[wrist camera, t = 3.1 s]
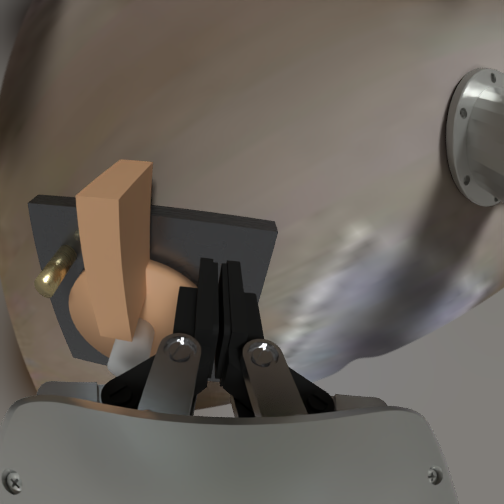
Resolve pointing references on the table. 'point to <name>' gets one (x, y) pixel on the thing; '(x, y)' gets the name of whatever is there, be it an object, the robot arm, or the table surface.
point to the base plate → (161, 250)
